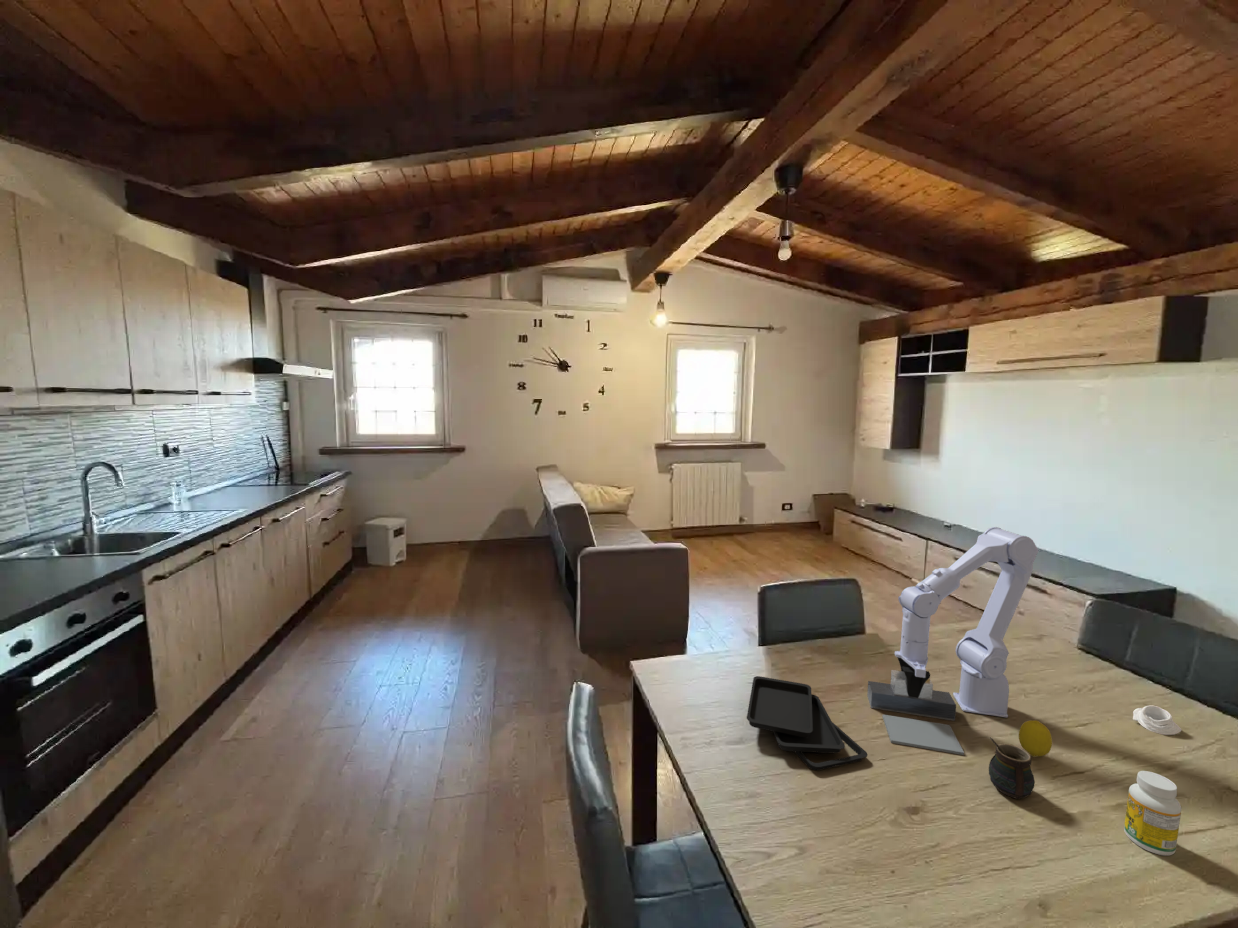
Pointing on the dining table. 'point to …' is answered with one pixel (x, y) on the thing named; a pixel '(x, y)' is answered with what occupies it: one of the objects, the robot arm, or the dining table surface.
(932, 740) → the mat
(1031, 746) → the lemon
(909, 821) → the dining table surface
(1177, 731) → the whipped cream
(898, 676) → the pale grey block
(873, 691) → the body
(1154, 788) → the supplement bottle
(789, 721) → the stack of dark trays
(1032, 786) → the mate gourd
